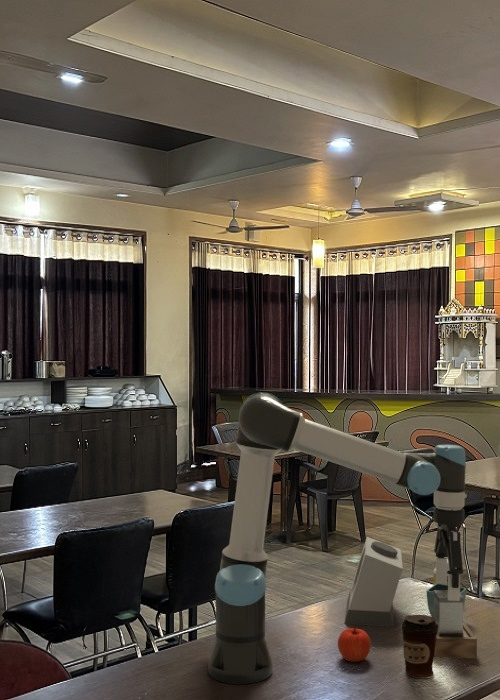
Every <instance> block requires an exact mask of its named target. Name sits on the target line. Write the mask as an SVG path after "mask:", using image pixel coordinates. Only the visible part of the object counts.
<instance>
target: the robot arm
mask: <svg viewBox="0 0 500 700" xmlns="http://www.w3.org/2000/svg"><path fill="white" fill-rule="evenodd" d="M238 414H239V415H238V426H237V434H236V444H235V445H236V446H237V447H238V448H239V450H240V459H239V465H238V474H237V481H236V488H235V490H236V491H235V497H234V505H233V514H232V520H231V521H232V522H231V528H230V534H229V535H230V537H229V542H228V543H229V544H228V545H227V546H226V547H224V548H223V549H222V552H221V559H220V569H219V571H218V572H217V573H216V574H217V575H216V577H215V581H214V582H215V583H214V591H215V640H214V641H213V642H214V643H213V646H212V649H211V652H210V655H209V659H208V663H207V664H208V668H207V670H208V675H209V676H210V677H211V678H212V679H214V680H216V681H219V682H222V683H226V684H232V685H247V684H254V683H258V682H261V681H262V682H263V681H264V680H267V679H268V678H269V677H270V676H272V673H273V671H274V669H273V667H274V666H273V658H272V656H271V652H270V649H269V646H268V642H267V639H266V591H267V589H266V588H267V583H266V575H267V568H268V567H267V566H268V559H269V556H268V554H267V553H266V551H265V550H264V546H265V545H264V543H265V535H266V527H267V520H268V511H269V505H270V496H271V488H272V482H273V473H274V466H275V465H274V463H275V458H276V455H278V453H280V452H281V451H285V452H287V453H288V452H291V451H294V450H296V451H299V452H302V453H304V454H307V455H310V456H312V457H315V458H319V459H321V460H324V461H327V462H331V463H334V464H337V465H340V466H343V467H346V468H348V469H351V470H354V471H356V472H359V473H363V474H366V475H369V476H371V477H375V478H376V479H379V480H382V481H383V480H384V481H385V482H388V483H392V484H395V485H397V486H400V487H402V488H406V489H409V490H410V491H412V492H413V493H415V494H417V495H420V496H429V495H431V494H433V505H434V508H433V522H434V523H436V524H437V530H436V537H435V544H434V548H433V551H434V553H435V557H436V559H435V568H436V584H447V574H448V600H449V601H460V587H461V575H462V574H463V573H464V568H463V557H462V555H463V554H462V547H461V532H460V531H457V526H461V525H463V524H464V523H465V513H466V512H465V511H466V510H465V509H464V507H465V501H466V500H465V499H466V498H467V497H468V495H467V494H466V493H465V490H466V489H465V488H466V468H467V463H466V461H467V460H466V450H465V449H464V447H462V446H461V445H455V444H438V445H436V446H435V448H434V451H433V452H428V453H427V452H403V451H398V450H395V449H392V448H389V447H386V446H384V445H381V444H378V443H375V442H372V441H369V440H367V439H363V438H361V437H357V436H355V435H352V434H349V433H346V432H344V431H341V430H338V429H335V428H332V427H329V426H327V425H324V424H321V423H318V422H315V421H312V420H309V419H306V418H305V417H304V415H303V413H302V412H299V411H296V410H293V409H291V408H289V407H288V406H286V405H284V403H283V402H282V401H281V400H280V398H278V397H277V396H276V395H274V394H272V393H268V392H258V393H253V394H251V395H249V396H247V398H245V400H243V402H242V403H241V405H240V408H239V413H238ZM447 559H448V563H449V570H450V571H447Z"/></svg>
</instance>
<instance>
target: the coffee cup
mask: <svg viewBox="0 0 500 700" xmlns="http://www.w3.org/2000/svg"><path fill="white" fill-rule="evenodd" d="M435 621H436V619H435V618H433V617H431V615H428V614H407V615H405V616H404V619H403V620H402V622H401V630H402V648H403V650H402V653H403V658H404V664H405V665H404V666H405V669H404V671H405V673H406V675H408V676H410V677H412V678H415V679H416V678H418V679H428V678H429V679H430V678H433V676H434V675H435V674H434V671H433V664H434V659H435V658H434V657H435V651H436V637H437V633H438V624H437V623H435Z"/></svg>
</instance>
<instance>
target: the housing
mask: <svg viewBox="0 0 500 700" xmlns="http://www.w3.org/2000/svg"><path fill="white" fill-rule="evenodd" d="M463 603H464V598H463V597H462V595H461V594H460V601H449V600H448V590H434V618H435V619H436V621H435V623H437V624H438V633H437V635H438V637H463V623H464V608H463Z"/></svg>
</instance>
